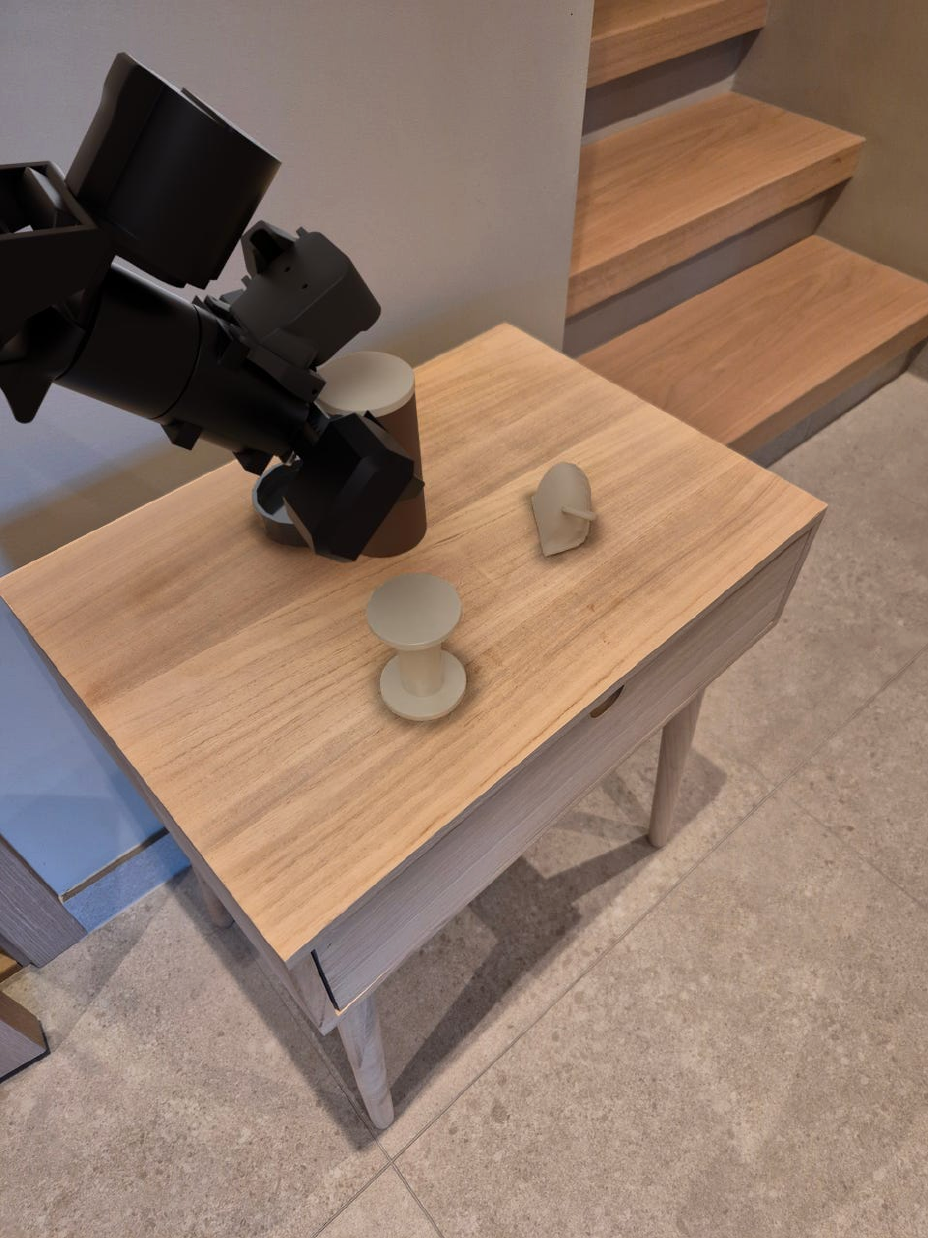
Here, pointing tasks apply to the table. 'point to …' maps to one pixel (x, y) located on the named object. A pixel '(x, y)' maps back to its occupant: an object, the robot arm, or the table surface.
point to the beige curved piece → (563, 508)
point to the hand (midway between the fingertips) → (396, 463)
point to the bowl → (277, 504)
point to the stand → (418, 644)
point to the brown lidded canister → (393, 403)
